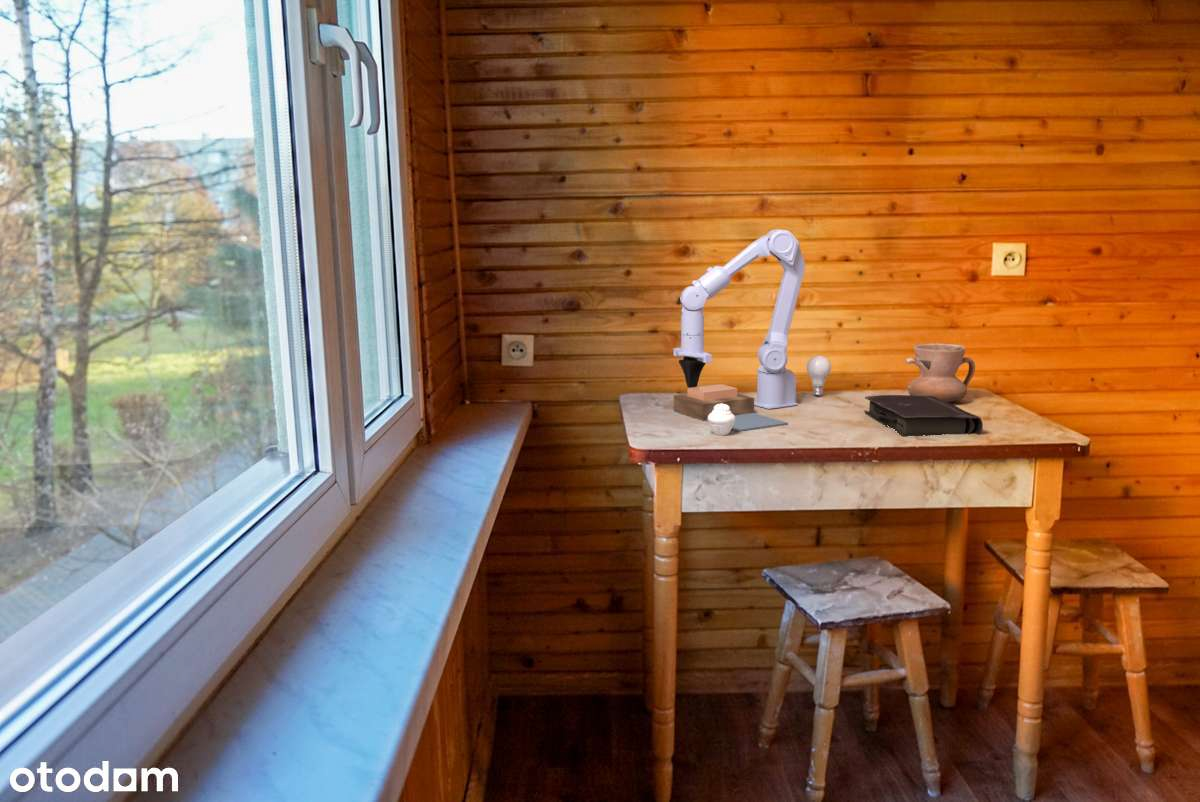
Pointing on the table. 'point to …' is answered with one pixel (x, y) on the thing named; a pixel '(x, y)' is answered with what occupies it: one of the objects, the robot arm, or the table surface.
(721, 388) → the block
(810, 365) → the lightbulb
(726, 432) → the muffin
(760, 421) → the mat
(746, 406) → the board
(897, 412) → the diary
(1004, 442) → the table surface
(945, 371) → the ceramic jug
